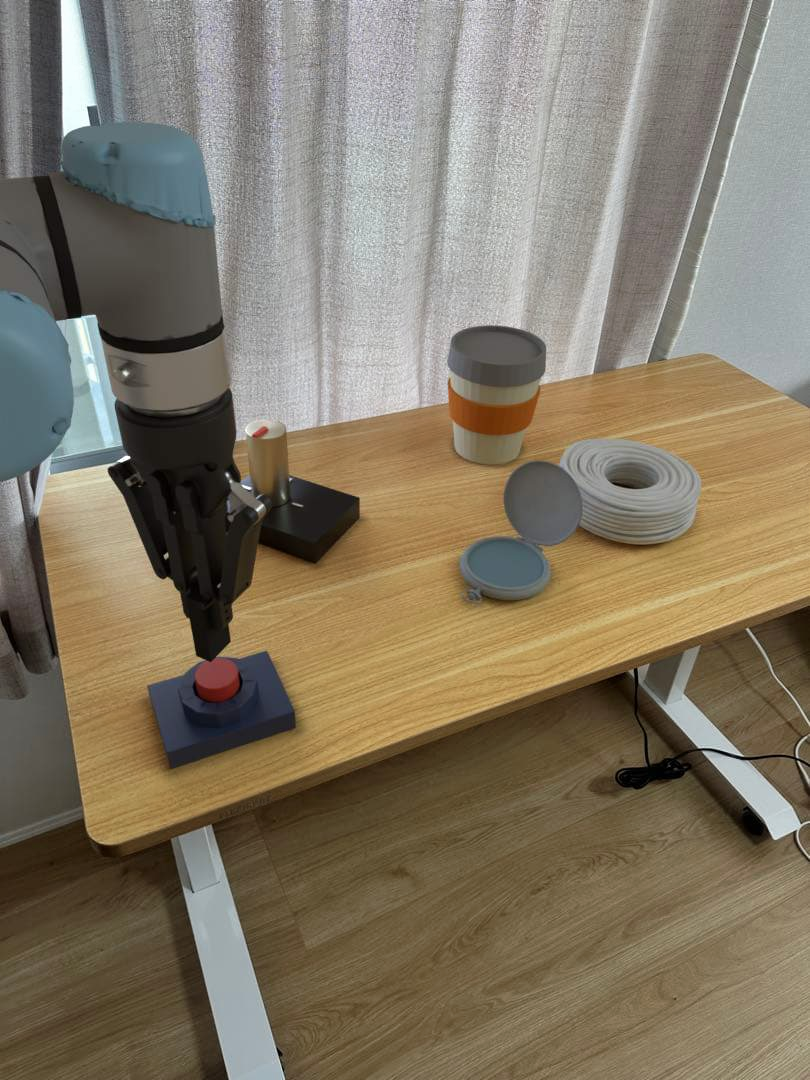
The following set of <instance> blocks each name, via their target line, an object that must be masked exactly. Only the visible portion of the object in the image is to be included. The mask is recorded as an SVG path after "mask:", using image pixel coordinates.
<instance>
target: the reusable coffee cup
mask: <svg viewBox="0 0 810 1080" xmlns="http://www.w3.org/2000/svg"><path fill="white" fill-rule="evenodd" d="M446 363H447V367H448V369H449V378H448V380H447V394H448V396H447V397H448V398H447V399H448V412H449V413H448V414H449V417H450V418H451V420H452V427H453V444H454V449H455V451H456V453H457V454H458V455H459V456H460V457H462V458H463V459H465V460H466V461H469V462H472V463H475V464H480V465H487V466H488V465H489V466H490V465H492V466H494V465H496V466H497V465H502V464H503V465H504V464H507V463H509V462H511V461H512V462H513V460H515V459H516V458H517V457H518V456H519V454H520V452H521V449H522V445H523V441H524V437H525V434H526V430H527V428H528V427H529V426H530V425H531V423H532V421H533V417H534V415H535V411H536V407H537V405H538V400H539V397H540V394H541V386H540V382H541V379H542V377H543V376H544V375H545V373H546V367H547V345H546V343H545V342H544V340H543V339H542V338H541V337H539V336H537V335H536V334H534V333H531V332H530V331H527V330H524V329H522V328H518V327H517V328H516V327H512V326H507V325H496V324H495V325H492V324H489V325H488V324H486V325H485V324H484V325H475V326H470V327H467V328H463V329H461V330H459V331H457V332H455V333H454V335H453V336H452V337H451V339H450V345H449V350H448V355H447V359H446Z"/></svg>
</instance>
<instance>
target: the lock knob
mask: <svg viewBox="0 0 810 1080" xmlns="http://www.w3.org/2000/svg"><path fill="white" fill-rule="evenodd" d="M287 433H288V432H287V426H286V424H284V422H282V421H280V420H277V419H271V418H264V419H258V420H257V419H256V420H254V421H252V422H250V423H249V424H248V425H247V426H246V428H245V438H246V448H247V457H248V460H247V461H248V470H249V475H250V481H251V491H252V495H253V496H254V497H255V498H257V497H258V496H259V495H261V494H264V495H266V496H268V497H269V498H270V499H271V501H272V507H277V506H280V505H283V504H285V503H286V502H287V501H288V500H289V499H290V481H289V475H290V465H289V451H288V450H289V449H288V435H287Z"/></svg>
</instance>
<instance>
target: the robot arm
mask: <svg viewBox="0 0 810 1080" xmlns="http://www.w3.org/2000/svg"><path fill="white" fill-rule="evenodd" d="M60 155H61V161H60V162H59V166H60V171H57V172H49V173H46V175H36V176H35V175H34V176H27V177H26V176H24V177H10V178H9V177H8V178H0V483H1V482H2V483H3V482H6V481H10V480H12V479H15V478H19V477H21V476H22V475H24V474H27V473H29V472H31V471H33V470H34V469H35V468H36V467H37V466H39V465H41V464H42V463H43V462H44V461H46V460H47V459H48V458H49V457H50V456H51V455H52V454H53V453H54V452H55V451H56V449H57V448H58V447H59V445H60V444H61V443H62V440H63V439H64V437H65V436H66V434H67V432H68V430H69V429H70V427H71V424H72V418H73V413H74V405H75V398H74V397H75V396H74V395H75V393H74V385H73V376H72V369H71V365H72V357H71V354H70V350H69V346H70V345H69V343H68V341H67V339H66V338H65V335H64V334H63V332H62V329H61V327H60V326H59V325H58V323H57V322H59V321H68V320H74V319H81V318H82V317H86V316H95V318H96V321H97V331H98V334H99V336H100V340H101V345H102V351H103V356H104V361H105V364H106V370H107V374H108V375H107V376H108V380H109V385H110V390H111V393H112V395H113V396H114V397H115V398H116V399H115V401H114V411H115V415H116V420H117V425H118V431H119V435H120V439H121V445H122V448H123V450H124V451H125V453H126V455H125V456H123V457H122V458H120V459H119V460H117V461H116V462H114V463H113V464H111V465H110V466H108V468H107V475H108V476H109V478H110V479H111V480H112V482H113V484H114V485H115V487H116V488H117V489H118V490H119V492H120V493H121V495H122V497H123V499H124V501H125V504H126V506H127V509H128V511H129V514H130V516H131V519H132V521H133V523H134V526H135V529H136V531H137V533H138V536H139V539H140V540H141V543H142V546H143V547H144V550H145V553H146V555H147V558H148V560H149V562H150V565H151V567H152V569H153V572H154V574H155V575H156V577H158V579H161V580H166V579H167V578H168V579H169V580H171V581H172V584H173V586H174V588H175V589H176V590H177V592H179V594H180V600H181V605H182V611H183V615H184V616H185V617H186V618H187V619H189V623H190V628H191V629H190V630H191V634H192V641H193V647H194V652H195V656H196V657H198V658H199V659H202V660H203V661H204V660H207V661H209V662H212V661H213V660H214V659H215V658H216V657H218V656H219V655H220V654H221V653H222V652H223V651H224V649H225V648H227V646H229V644H230V643H231V642H232V639H231V632H230V625H229V624H230V623H231V622H232V620H233V619H234V613H233V605H232V604H233V603H234V602H235V601H237V600H238V598H240V597H241V596H242V595H243V594H244V593H245V592H247V590H248V589H249V588H250V587H251V585H252V582H253V576H254V569H255V564H256V559H257V552H258V547H259V544H258V541H259V535H260V529H261V524H262V519H263V518H264V517H265V516H266V514H267V513H268V512H269V510H270V509H271V508H272V501H271V499H270V498H269V497H268V496H266V495H264V494H261V495H259V496H258V497H257V498H255V497H254V496H253V495H252V494H251V493H250V492H249V491H248V490H246V489H245V488H244V487H243V486H242V485H241V484H240V483H241V481H242V474H241V471H240V470H239V468H238V466H237V464H236V462H235V460H234V449H235V445H236V441H237V440H236V439H237V425H236V424H237V423H236V416H235V415H236V414H235V407H234V405H235V404H234V398H233V397H234V396H233V392H232V390H231V389H230V386H231V383H232V373H231V366H230V357H229V349H228V342H227V335H226V327H225V323H224V313H223V312H224V311H223V307H222V305H223V304H222V296H221V286H220V285H221V284H220V275H219V264H218V253H217V241H216V231H215V225H217V221H216V220H217V219H216V216H215V214H214V212H213V211H214V210H213V205H212V204H213V203H212V200H211V199H212V198H211V194H210V188H209V180H208V177H207V176H208V175H207V169H206V165H205V158H204V154H203V150H202V148H201V146H200V143H198V142H197V140H195V138H193V137H192V136H191V135H189V133H188V132H186V131H185V130H183V129H181V128H178V127H175V126H172V125H168V124H162V123H157V122H156V123H154V122H144V121H119V122H117V121H116V122H105V123H102V124H98V125H85V126H80V127H78V128H74V129H72V130H70V131H69V132H67V133H66V134H65V135H64V137H63V138H62V140H61V142H60ZM228 500H229V501H230V504H231V507H230V514H229V515H228V516H227V518H228V520H229V521H230V522H232V523H231V524H230V526H229V529H228V532H226V526H225V516H226V514H227V511H228V506H227V501H228ZM166 554H167V555H168V556H166V557H165V555H166Z"/></svg>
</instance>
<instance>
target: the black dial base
mask: <svg viewBox="0 0 810 1080" xmlns="http://www.w3.org/2000/svg"><path fill="white" fill-rule="evenodd" d="M289 481H290V499H289V500H288V501H287V502H286V503H285V504H283V505H280V506H277V507H272V508H271V509H270V510H269V512H268V513H267V514H266V516H265V517H264V518H263V519H262V524H261V529H260V535H259V541H258V545H261V546H263V547H267V548H269V549H272V550H274V551H276V552H277V551H278V552H279V553H283V554H287V555H289V556H291V557H293V558H297V559H298V560H299V559H300V560H303V561H305V562H307V563H311V564H313V565H317V563H318V562H319V561H320V560H322V558H323V557H324V556H325V555H326V554H327V553H328V552H329V551H330V550H331V549H332V548H333V547H334V546H335V545H336V544H337V542H338V541H340V540H341V538H342V537H343V536H345V534H346V533H347V532H348V531H349V530H350V529H351V528H352V527H353V526H354V525H355V524H356V523H357V521H359V520H360V518H361V517H360V513H361V512H360V511H361V510H360V509H361V507H360V506H361V504H360V503H361V498H360V497H359V496H355V495H352V494H349V493H346V492H344V491H341V490H340V491H339V490H337V489H334V488H331V487H328V486H325V485H322V484H318V483H315V482H313V481H309V480H307V479H303V478H299V477H297V476H294V475H291V474H289ZM240 484H241V485H242V486H243V487H244V488H245V489H246V490H248V491H249V492H250V493H251V494H252V491H251V481H250V474H248V475H247V476H246V477H245V478H244V479H241V483H240ZM227 506H228V511H227V514H226V516H225V526H226V533H227V532H228V529H229V526H230V524H231V523H232V522H230V521H229V520H228V518H227V516H228V515H229V514H230V507H231V504H230V501H229V500H228V501H227Z"/></svg>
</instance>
